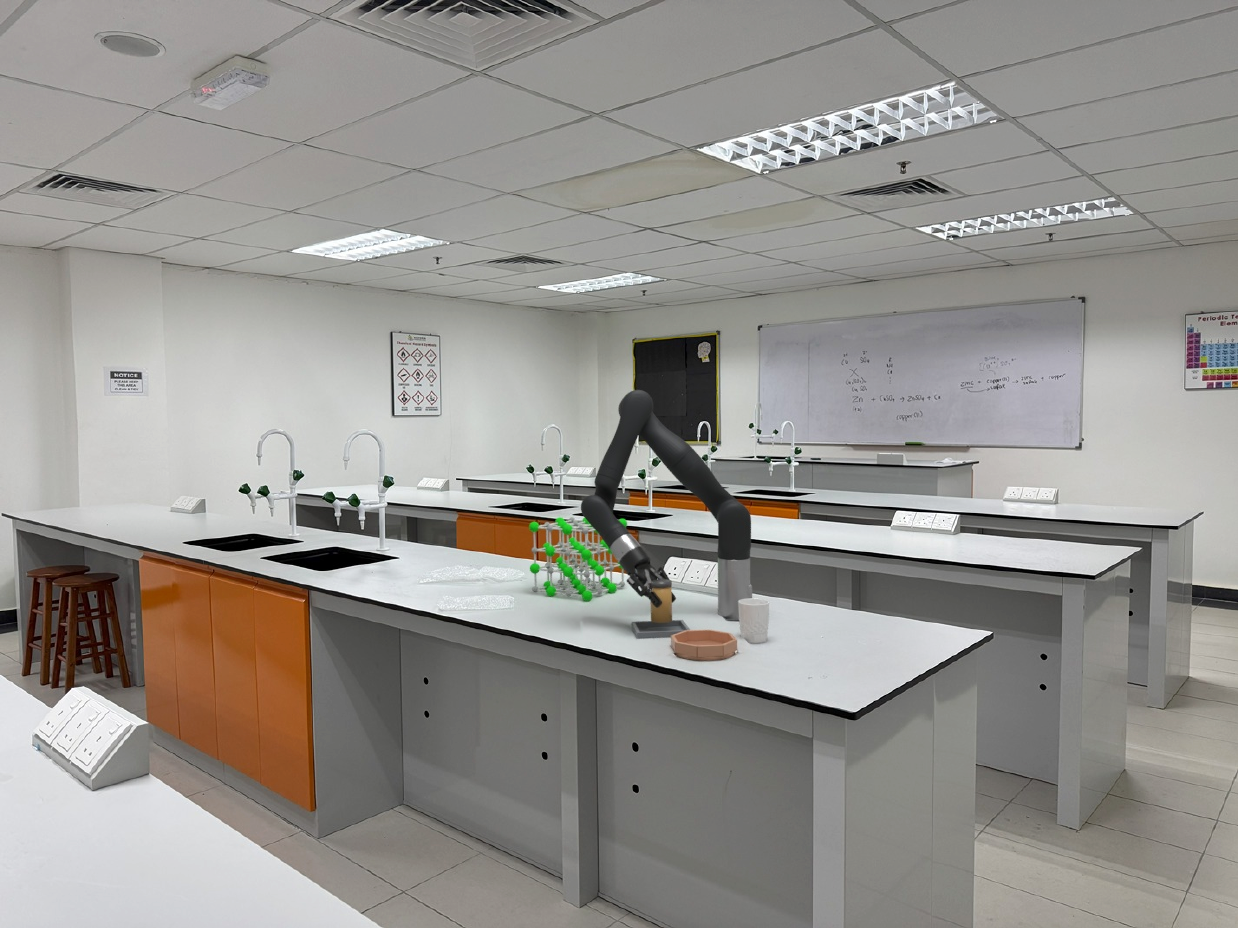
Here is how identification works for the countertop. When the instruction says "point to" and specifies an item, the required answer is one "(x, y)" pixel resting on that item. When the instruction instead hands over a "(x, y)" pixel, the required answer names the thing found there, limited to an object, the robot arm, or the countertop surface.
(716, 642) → the terracotta bowl
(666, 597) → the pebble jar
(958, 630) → the countertop surface
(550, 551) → the molecular structure model
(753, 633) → the white cup
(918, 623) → the countertop surface
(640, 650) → the countertop surface
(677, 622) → the parts tray
